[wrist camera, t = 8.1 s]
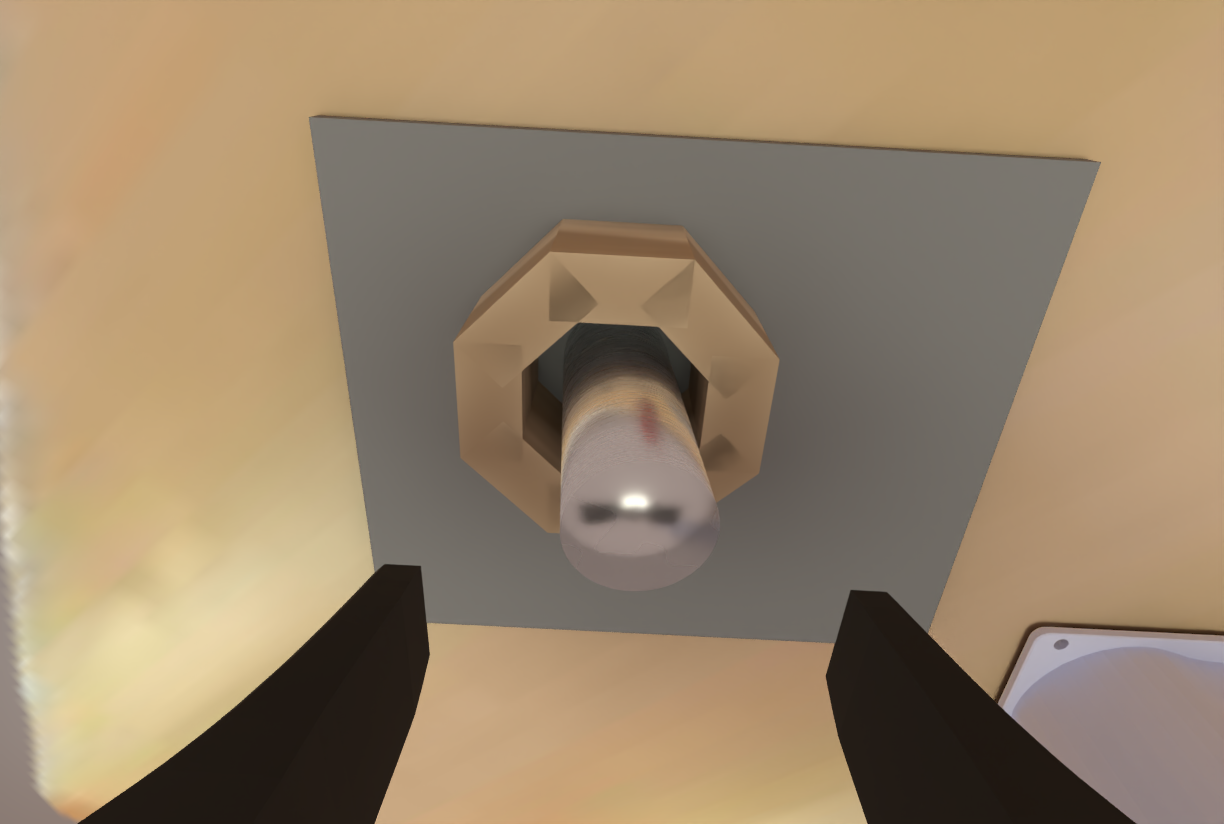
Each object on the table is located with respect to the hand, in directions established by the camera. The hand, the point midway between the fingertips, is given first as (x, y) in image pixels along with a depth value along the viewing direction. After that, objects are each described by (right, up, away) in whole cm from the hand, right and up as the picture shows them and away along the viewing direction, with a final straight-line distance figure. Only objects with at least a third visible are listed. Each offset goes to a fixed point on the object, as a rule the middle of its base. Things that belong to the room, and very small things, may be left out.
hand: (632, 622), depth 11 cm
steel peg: (0, +5, +8) cm, 10 cm away
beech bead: (0, +5, +8) cm, 10 cm away
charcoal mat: (+2, +3, +10) cm, 11 cm away
